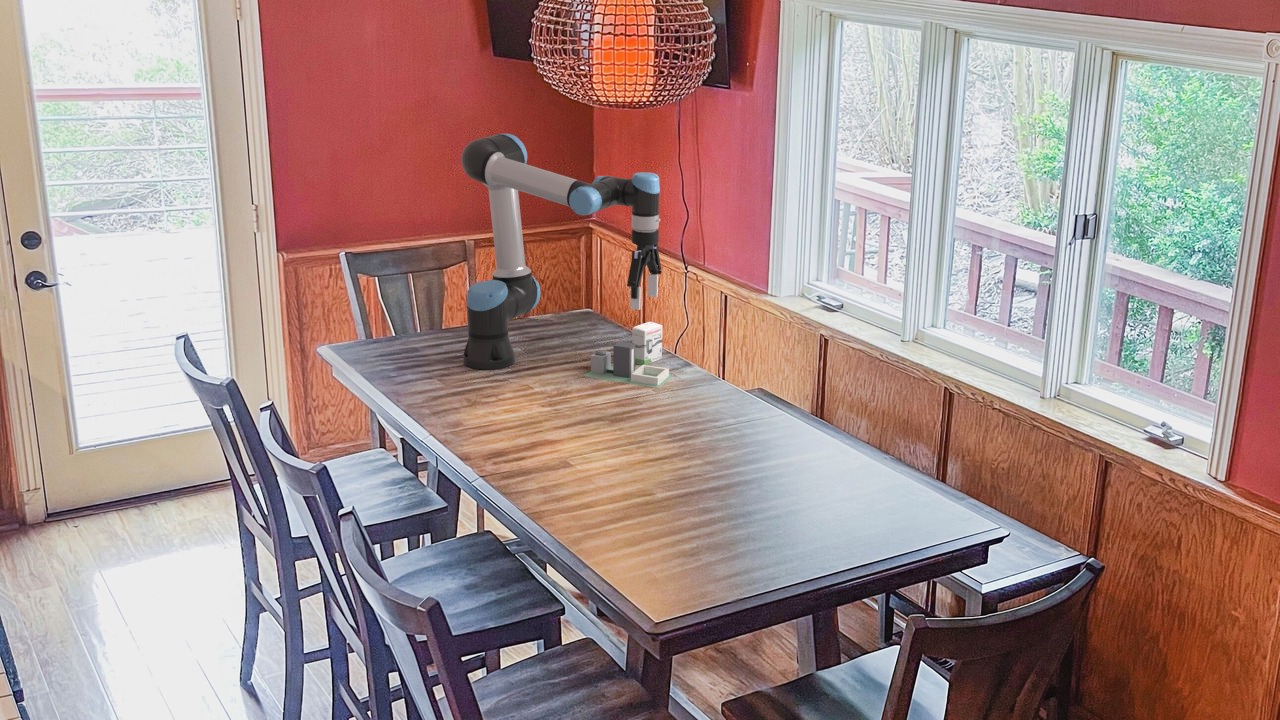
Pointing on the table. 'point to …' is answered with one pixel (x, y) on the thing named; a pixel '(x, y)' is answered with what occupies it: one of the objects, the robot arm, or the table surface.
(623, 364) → the plug
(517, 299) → the robot arm
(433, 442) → the table surface
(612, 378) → the board
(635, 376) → the white square frame
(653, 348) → the ink box
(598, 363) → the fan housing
